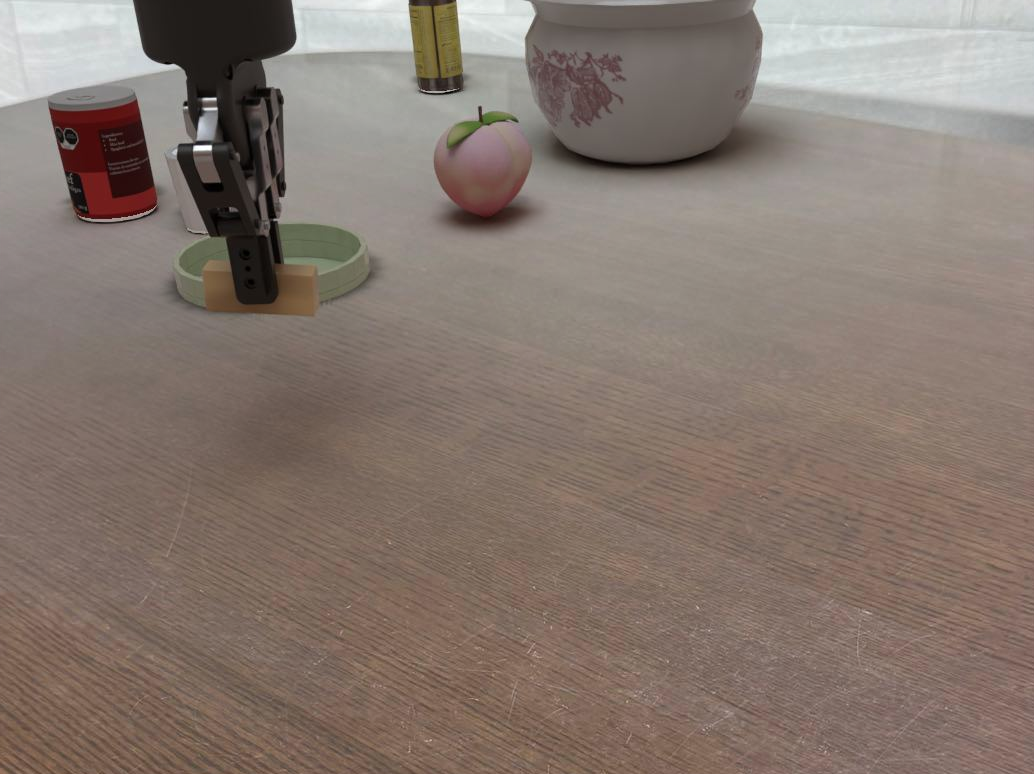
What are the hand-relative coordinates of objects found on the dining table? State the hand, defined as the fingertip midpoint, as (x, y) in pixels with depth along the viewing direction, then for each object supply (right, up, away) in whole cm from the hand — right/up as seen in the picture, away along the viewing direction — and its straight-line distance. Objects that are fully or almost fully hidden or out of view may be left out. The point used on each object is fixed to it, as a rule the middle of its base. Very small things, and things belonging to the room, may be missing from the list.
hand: (262, 293), depth 67 cm
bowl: (-6, +6, +30) cm, 31 cm away
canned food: (-26, +18, +51) cm, 60 cm away
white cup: (-15, +16, +46) cm, 51 cm away
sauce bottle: (+2, +46, +93) cm, 103 cm away
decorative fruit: (+10, +16, +45) cm, 49 cm away
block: (0, -1, +1) cm, 1 cm away
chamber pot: (+26, +29, +64) cm, 75 cm away
